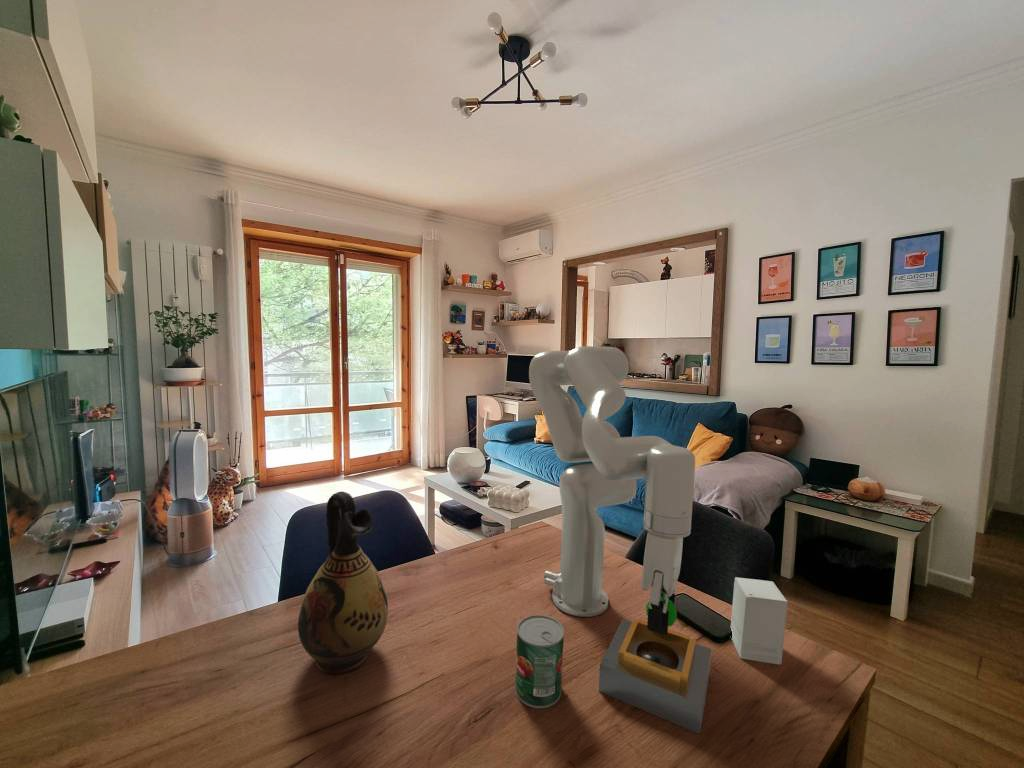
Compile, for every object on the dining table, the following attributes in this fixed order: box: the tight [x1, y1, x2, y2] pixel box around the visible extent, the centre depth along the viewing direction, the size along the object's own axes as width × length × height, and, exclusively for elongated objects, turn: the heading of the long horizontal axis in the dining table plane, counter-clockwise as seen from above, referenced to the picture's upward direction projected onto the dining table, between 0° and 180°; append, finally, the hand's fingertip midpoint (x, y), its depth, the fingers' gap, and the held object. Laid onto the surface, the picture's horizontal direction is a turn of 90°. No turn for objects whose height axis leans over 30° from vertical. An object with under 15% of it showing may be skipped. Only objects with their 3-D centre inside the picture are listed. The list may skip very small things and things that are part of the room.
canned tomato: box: [514, 614, 565, 709], centre depth 75 cm, size 8×8×11 cm
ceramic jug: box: [297, 491, 389, 676], centre depth 81 cm, size 17×15×30 cm
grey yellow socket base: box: [598, 618, 712, 735], centre depth 78 cm, size 16×17×7 cm
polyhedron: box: [645, 596, 678, 628], centre depth 76 cm, size 5×5×5 cm
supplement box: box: [730, 576, 788, 665], centre depth 86 cm, size 7×7×13 cm
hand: (660, 621), depth 76 cm, fingers closed on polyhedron, 5 cm apart
